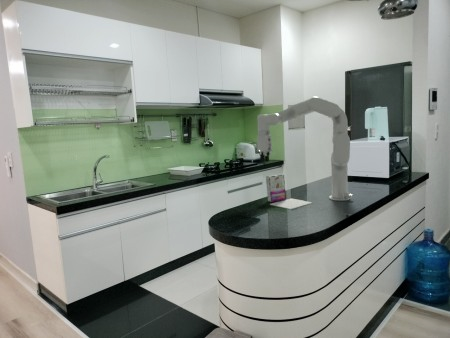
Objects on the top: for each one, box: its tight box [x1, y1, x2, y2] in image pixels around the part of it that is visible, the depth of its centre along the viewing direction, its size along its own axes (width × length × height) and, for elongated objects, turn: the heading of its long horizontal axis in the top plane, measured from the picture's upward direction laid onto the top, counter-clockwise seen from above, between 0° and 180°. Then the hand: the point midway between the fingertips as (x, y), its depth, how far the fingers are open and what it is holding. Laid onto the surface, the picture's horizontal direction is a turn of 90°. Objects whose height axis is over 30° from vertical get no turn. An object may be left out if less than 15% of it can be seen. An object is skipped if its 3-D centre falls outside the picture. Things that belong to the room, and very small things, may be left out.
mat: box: [269, 198, 313, 210], centre depth 209 cm, size 17×20×1 cm
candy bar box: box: [265, 174, 287, 203], centre depth 218 cm, size 11×5×16 cm, turn 112°
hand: (264, 161), depth 223 cm, fingers open, 3 cm apart
